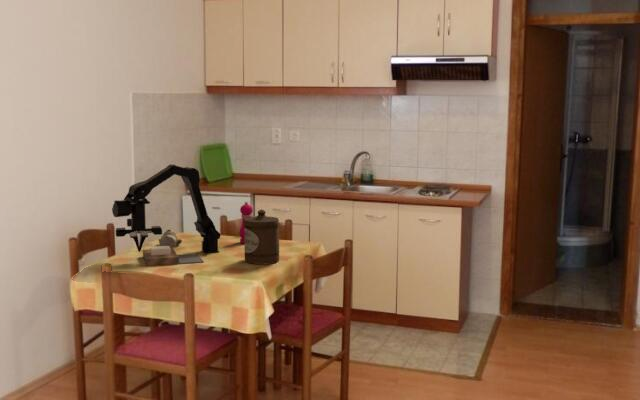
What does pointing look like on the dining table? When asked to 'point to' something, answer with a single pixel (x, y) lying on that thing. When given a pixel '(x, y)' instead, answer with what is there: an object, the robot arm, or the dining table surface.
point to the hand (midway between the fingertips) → (139, 251)
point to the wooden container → (261, 239)
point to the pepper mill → (246, 213)
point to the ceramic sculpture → (169, 239)
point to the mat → (190, 258)
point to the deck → (160, 258)
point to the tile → (160, 250)
